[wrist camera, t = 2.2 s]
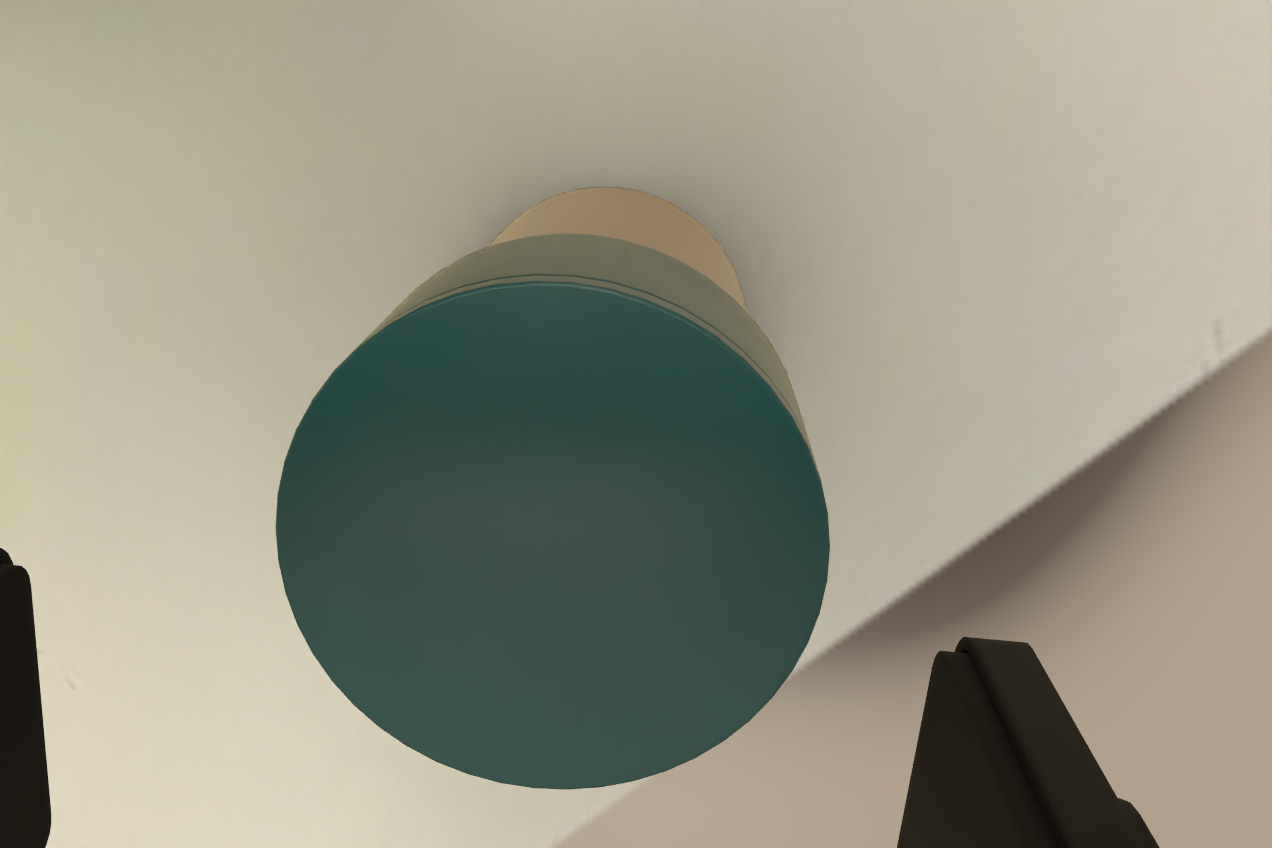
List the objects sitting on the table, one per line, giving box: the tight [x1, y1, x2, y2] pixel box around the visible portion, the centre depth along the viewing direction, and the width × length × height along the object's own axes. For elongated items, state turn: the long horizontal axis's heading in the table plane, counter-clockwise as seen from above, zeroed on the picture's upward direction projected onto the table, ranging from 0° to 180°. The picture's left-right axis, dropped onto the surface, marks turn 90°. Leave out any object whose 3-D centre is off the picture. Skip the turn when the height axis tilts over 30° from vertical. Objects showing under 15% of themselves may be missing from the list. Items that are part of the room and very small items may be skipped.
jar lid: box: [276, 234, 830, 789], centre depth 16 cm, size 7×7×3 cm
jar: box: [489, 187, 747, 312], centre depth 20 cm, size 6×6×11 cm
